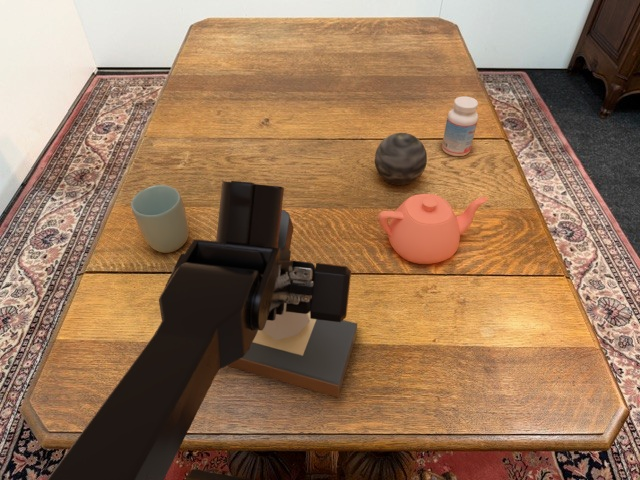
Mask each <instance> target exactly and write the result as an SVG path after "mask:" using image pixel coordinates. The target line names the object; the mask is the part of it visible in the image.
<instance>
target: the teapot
mask: <svg viewBox="0 0 640 480" xmlns="http://www.w3.org/2000/svg"><path fill="white" fill-rule="evenodd" d="M487 201H489V198H488V197H486V196H482V197H479V198H476V199H474V200H473V201H471V202H470V203H469V205H468V206H467V207H466V208H465V210H464V211H463V212H462V213H460V214H459V215H457V216H456V214H455V212H454V210H453V208H452V207H451V205H450V203H449V202H448V201H447V200H446V199H444V197H442V196H440V195H436V194H433V193H420V194H415V195H412V196H410V197H408V198H407V199H405V200H404V201H403V202H402V203H401V204H400V205H399V206H398V207H397V208H396V210H383V211H380V212H379V213H378V215H377V216H378V217H377V219H378V222H379V225H380V227H381V228H382V229H383V230H384V232H385V233H386V234H387V237H388V241H389V243H390V245H391V247H392V248H393V250H394V251H395V252H396V253H397V254H398V256H400V257H401V258H403V259H405V261H408V262H410V263H412V264H418V265H431V264H435V263H437V264H438V263H440V262H444V261H446V260H448V259H450V258H451V257H453V255H454V254H455V253H456V252H457V250H458V249H459V245H460V239H461V238H460V237H461V235H463V234H464V233H466V232H467V231H468V230H469V229H470V227H471V226H472V223H473V220H474V218H475V215H476V212H477V210H478V209H479V208H480V206H482V205H484V204H485V203H486V202H487ZM389 219H390V220H389ZM388 220H389V222H388Z"/></svg>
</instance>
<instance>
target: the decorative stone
mask: <svg viewBox="0 0 640 480" xmlns="http://www.w3.org/2000/svg"><path fill="white" fill-rule="evenodd" d="M427 162H428V155H427V150H426V147H425V145H424V144H423V142H422V141H421V140H420V139H419V138H418V137H416V136H415V135H413V134H411V133H408V132H396V133H393V134H390V135H388V136H386V137H385V138H383V140H381V142H380V143H379V145H378V146H377V148H376V150H375V154H374V167H375V168H376V171H377V173H378V175H379V176H380V177H381V178H382V179H383V180H384V181H385V182H387V183H388V184H392V185H395V186H405V185H408V184H411V183H413V182H415V181H416V180H418V179H419V178H420V177H421V175H422V174H423V173H424V171H425V169H426V168H427Z"/></svg>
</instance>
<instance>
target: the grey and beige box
mask: <svg viewBox="0 0 640 480" xmlns="http://www.w3.org/2000/svg"><path fill="white" fill-rule="evenodd" d="M308 316H309V320H310V322H309V323H308V324H307V325H306V326H305V327H304V328H303V329H302V330H301V331H300V332H299V333H298V334H297V335H295V336H291V337H287V338H283V339H278V340H275V339H273V338H272V337H271V336H269V335H268V334H266V333H265V332H263V331H262V330H258V332H257V334H256V336H255V338H254V340H253V342H252V343H251V345H250V349H249V350H248V351H247V352H246V354H245V355H244V356H243V357H242V358H240V359H238V360H237V361H235V362H233V363H231V364H229V365H227V366H228V367H230V368H233V369H237V370H241V371H244V372H249V373H251V374H255V375H258V376H262V377H265V378H269V379H272V380H276V381H279V382H282V383H285V384H290V385H293V386H297V387H301V388H305V389H306V390H307V389H308V390H311V391H314V392H318V393H321V394H326V395H329V396H332V397H335V398H339V396H340V392H341V389H342V385H343V382H344V379H345V376H346V372H347V369H348V366H349V363H350V359H351V355H352V352H353V349H354V345H355V342H356V338H357V337H358V335H357V334H358V323H357V322H353V321H348V320H345V319H344V320H342V321H341V322H333V321H325V320H317V319H310V312H309V313H308Z"/></svg>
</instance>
